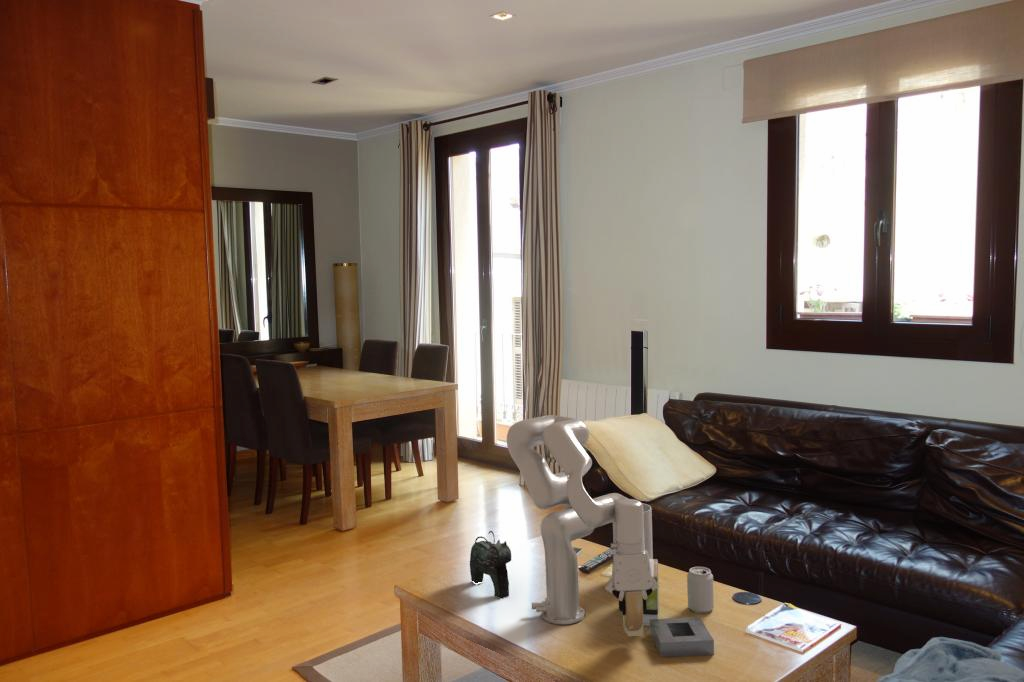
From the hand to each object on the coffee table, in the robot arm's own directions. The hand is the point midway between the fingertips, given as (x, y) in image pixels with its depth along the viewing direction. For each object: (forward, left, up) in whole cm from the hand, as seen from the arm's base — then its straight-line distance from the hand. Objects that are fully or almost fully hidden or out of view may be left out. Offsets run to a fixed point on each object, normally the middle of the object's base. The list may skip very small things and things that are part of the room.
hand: (632, 612), depth 211 cm
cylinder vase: (+8, +43, -10) cm, 45 cm away
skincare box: (0, 0, -6) cm, 6 cm away
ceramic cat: (-39, +43, -10) cm, 59 cm away
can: (+24, +21, -10) cm, 33 cm away
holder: (+13, 0, -10) cm, 16 cm away
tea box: (+6, +19, -10) cm, 22 cm away
